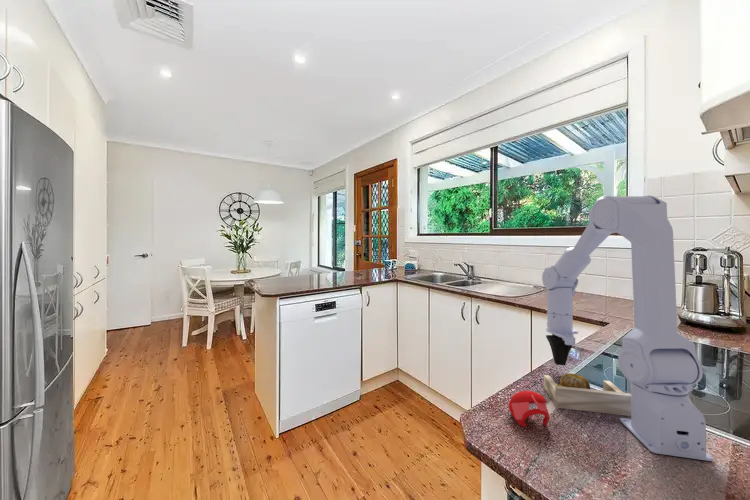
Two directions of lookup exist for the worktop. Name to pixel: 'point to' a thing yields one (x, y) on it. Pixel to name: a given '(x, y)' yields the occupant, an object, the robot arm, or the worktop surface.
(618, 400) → the holder
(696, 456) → the robot arm
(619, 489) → the worktop surface
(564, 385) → the fruit
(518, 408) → the red toy helmet
